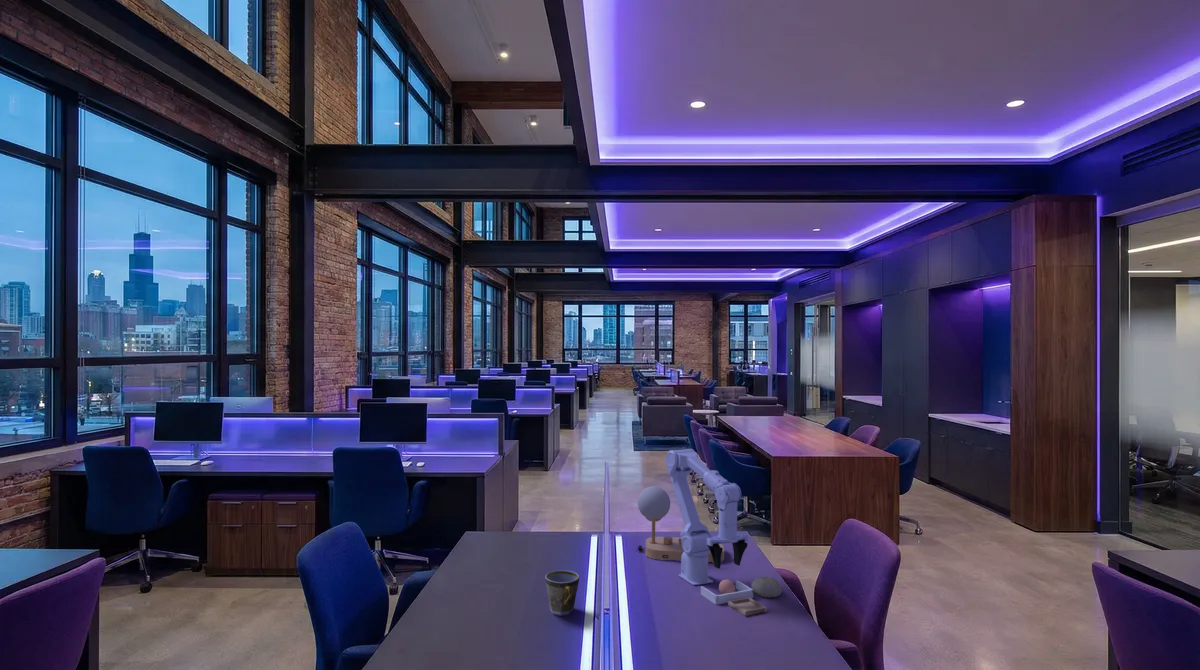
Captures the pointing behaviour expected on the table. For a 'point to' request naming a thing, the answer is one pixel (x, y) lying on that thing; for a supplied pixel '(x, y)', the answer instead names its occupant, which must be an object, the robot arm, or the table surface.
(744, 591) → the white u-shaped arch
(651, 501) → the lamp
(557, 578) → the ceramic cup
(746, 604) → the tray
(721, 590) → the ball
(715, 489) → the robot arm
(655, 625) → the table surface
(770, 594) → the sea urchin shell
